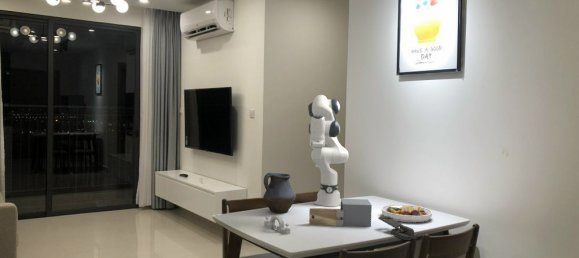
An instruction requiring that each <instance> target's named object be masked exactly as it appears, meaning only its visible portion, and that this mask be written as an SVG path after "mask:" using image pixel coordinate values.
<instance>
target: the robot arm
mask: <svg viewBox="0 0 579 258" xmlns="http://www.w3.org/2000/svg"><path fill="white" fill-rule="evenodd" d="M340 109H341V105H340V103H339V101H338V100H337V99H336V98H331V99H328V98H327V96H325V95H323V94H318V95H316V96H315V97H314V99H313V101H312V102H310V103H309V104H308V105H307V112H308V115H309V117H311V119H310V123H308V133H309V134H310V135H309V147H311V149H313V150H312V151H311V154H310V157H311V160H312V162H313V163H314V165H315V168H319V170H320V184H319V187H320V190H319V191H318V193H316V197H317V199H316V200H315V201H314V205H318V206H322V207H338V206H341V195H340V191H339V190H338V189H339V184H338V172H337V171H336V170H335V169H333V168H332V167H330V165H331V164H334V165H335V164H337V165H338V164H344V163H346V162H348V160H349V156H350V154H349V151H348V150H347V148H345V147H344V146H343V145H341V143H340V142H339V140H338V136H339V135H340V133H341V127H340V123H339V121H338V119H337V115H338V114H339V112H340ZM325 145H326V146H327V147H326V146H325Z"/></svg>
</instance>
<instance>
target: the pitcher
mask: <svg viewBox="0 0 579 258" xmlns="http://www.w3.org/2000/svg"><path fill="white" fill-rule="evenodd" d="M263 177H264V178H263V186H264V189H265V192H264V193H263V197H262V198H263V200H264V202H265V204H266V206H267V207H268V209H269V211H270V212H271V213H274V214H286V213H288V212H289V211H290V208H291V207H292V206H293V203H295V201H296V199H297V194H296V193H295V191H294V190H293V188H292V186H291V183H290V178H291V174H289V173H282V172H281V173H279V172H267V173H266V174H265V175H264V176H263ZM269 179H270V181H269Z"/></svg>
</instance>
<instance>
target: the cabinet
mask: <svg viewBox="0 0 579 258" xmlns="http://www.w3.org/2000/svg"><path fill="white" fill-rule="evenodd" d="M340 202H341V205H340V207H339V209H341V211H337V212H336V217H341V220H336V225H335V226H336V227H344V226H346V227H347V226H351V227H352V226H353V227H355V226H356V227H372V209H373V208H372V207H373V205H372V203H371V202H370V200H369V199H368V198H367V199H365V198H364V199H363V198H340Z"/></svg>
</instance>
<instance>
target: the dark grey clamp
mask: <svg viewBox="0 0 579 258" xmlns="http://www.w3.org/2000/svg"><path fill="white" fill-rule="evenodd" d="M377 220H379V221H382V222H384V223H385V224H387V225H389V226H391V227H393V228H391V230H390V235H393V236H395V237H396V238H399V239H401V240H405V241H412V240H411V239H415V240H418V234H417V233H416V232H415V230H414V228H412V227H409V226H407V225H404V224H402V222H398V221H396V220H395V219H393V218H392V217H390V216H384V215H381V216H379V217H378V219H377Z"/></svg>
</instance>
